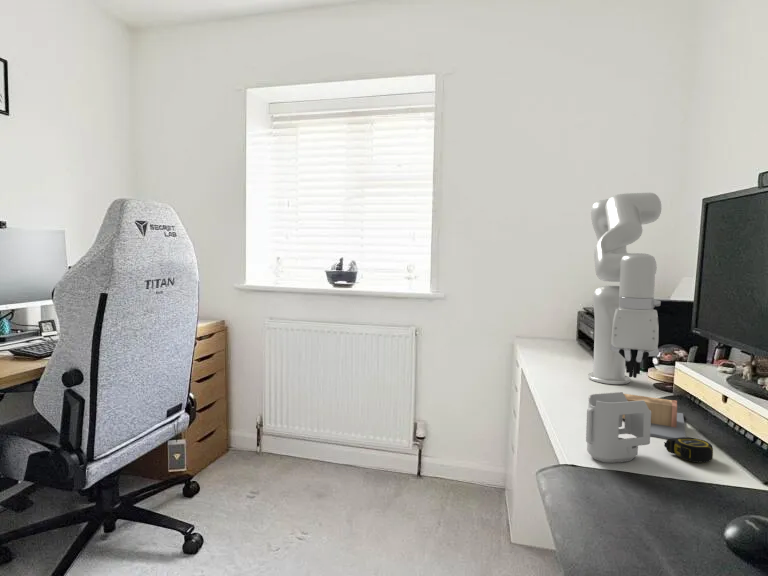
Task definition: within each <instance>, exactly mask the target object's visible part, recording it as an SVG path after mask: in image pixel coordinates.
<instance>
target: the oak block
mask: <svg viewBox="0 0 768 576" xmlns="http://www.w3.org/2000/svg"><path fill="white" fill-rule="evenodd" d="M623 394H624V396H625V397H626V399H627V401H628V402H629V401H641V400H644V401H645V403H646V405H647V407H648V409H649V410H650V411H651V423H653V424H659V425H665V426H671V427H676V425H677V413H678V400H673V399H666V398H665V399H664V398H658V397H651V396H644V395H636V394H630V393H624V392H623ZM623 419H624V420H625V414H624V415H623V416H622V420H623Z"/></svg>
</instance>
